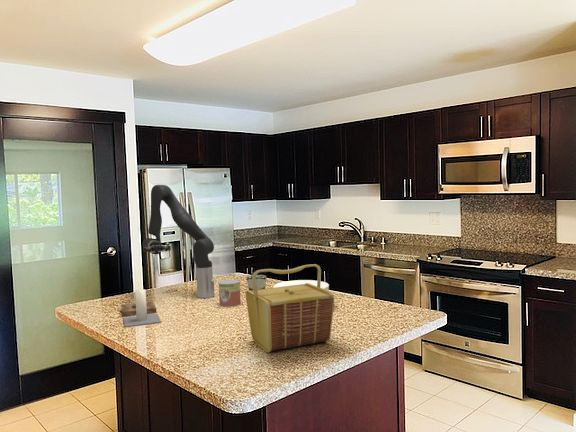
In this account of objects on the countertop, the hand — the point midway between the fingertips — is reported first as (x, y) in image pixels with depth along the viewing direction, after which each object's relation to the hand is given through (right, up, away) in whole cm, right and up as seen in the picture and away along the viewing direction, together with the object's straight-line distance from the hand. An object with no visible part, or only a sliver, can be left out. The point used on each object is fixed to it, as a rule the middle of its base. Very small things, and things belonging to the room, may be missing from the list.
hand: (158, 250), depth 252 cm
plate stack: (+76, -29, -12) cm, 82 cm away
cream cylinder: (-1, -31, -27) cm, 41 cm away
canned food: (+38, -29, 0) cm, 48 cm away
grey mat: (-1, -32, -27) cm, 42 cm away
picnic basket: (+70, -32, -66) cm, 101 cm away
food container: (+51, -27, +27) cm, 64 cm away
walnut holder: (-8, -31, -8) cm, 33 cm away
